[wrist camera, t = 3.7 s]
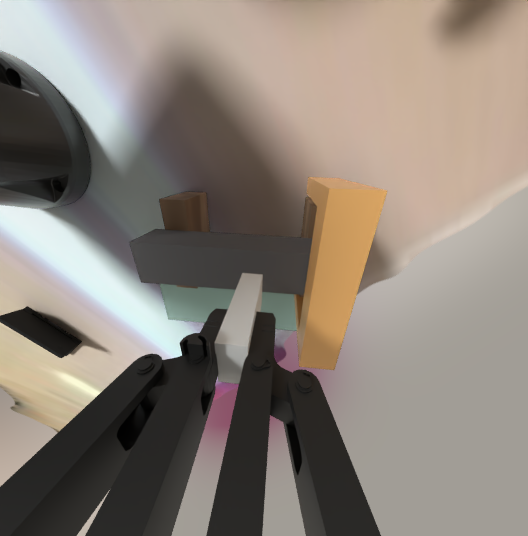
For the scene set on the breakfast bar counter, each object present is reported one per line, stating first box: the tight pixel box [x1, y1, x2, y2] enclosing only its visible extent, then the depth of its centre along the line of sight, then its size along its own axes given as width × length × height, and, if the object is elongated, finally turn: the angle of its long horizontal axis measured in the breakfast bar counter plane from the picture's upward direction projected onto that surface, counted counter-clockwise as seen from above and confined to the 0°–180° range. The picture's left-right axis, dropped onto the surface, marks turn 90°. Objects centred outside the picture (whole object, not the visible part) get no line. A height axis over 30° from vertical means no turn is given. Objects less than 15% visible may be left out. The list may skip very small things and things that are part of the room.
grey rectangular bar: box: [129, 229, 312, 295], centre depth 19 cm, size 19×4×4 cm, turn 88°
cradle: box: [159, 192, 317, 297], centre depth 24 cm, size 17×10×6 cm, turn 88°
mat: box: [160, 284, 297, 331], centre depth 32 cm, size 23×7×1 cm, turn 88°
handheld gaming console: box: [0, 306, 82, 358], centre depth 36 cm, size 12×7×10 cm
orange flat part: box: [294, 177, 387, 370], centre depth 19 cm, size 3×14×11 cm, turn 178°
